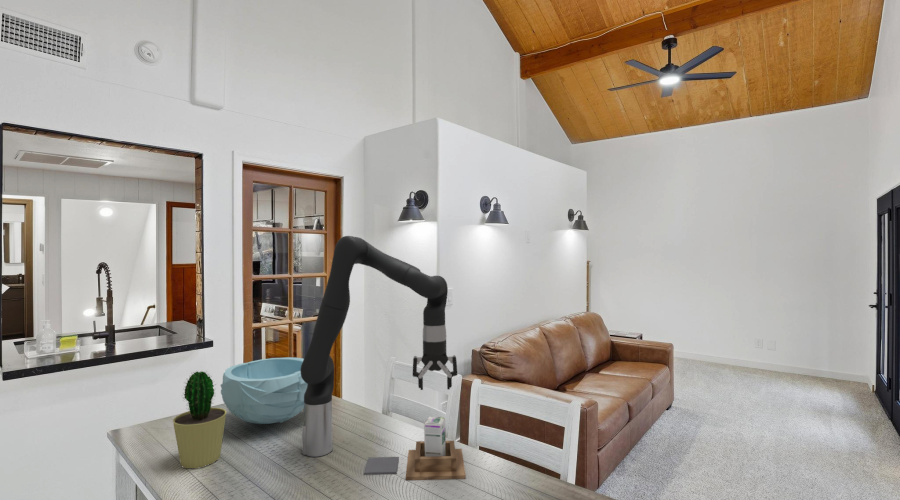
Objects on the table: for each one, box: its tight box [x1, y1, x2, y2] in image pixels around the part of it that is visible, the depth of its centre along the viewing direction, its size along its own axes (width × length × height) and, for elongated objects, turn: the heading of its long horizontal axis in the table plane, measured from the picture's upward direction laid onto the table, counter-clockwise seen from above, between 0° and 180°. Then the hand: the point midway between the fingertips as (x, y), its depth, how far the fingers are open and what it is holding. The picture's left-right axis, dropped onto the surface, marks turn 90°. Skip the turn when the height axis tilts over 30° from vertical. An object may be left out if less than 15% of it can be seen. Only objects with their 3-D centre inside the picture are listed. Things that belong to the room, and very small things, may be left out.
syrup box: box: [423, 416, 447, 457], centre depth 145 cm, size 6×6×14 cm
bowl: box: [220, 356, 308, 425], centre depth 181 cm, size 35×35×22 cm
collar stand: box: [405, 440, 467, 481], centre depth 145 cm, size 18×18×5 cm
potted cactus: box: [172, 370, 228, 469], centre depth 149 cm, size 15×15×30 cm
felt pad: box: [363, 456, 400, 475], centre depth 145 cm, size 10×10×1 cm
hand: (435, 389), depth 145 cm, fingers open, 8 cm apart
